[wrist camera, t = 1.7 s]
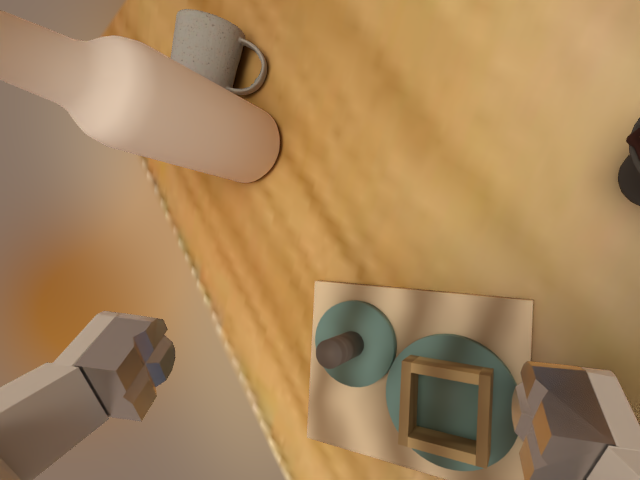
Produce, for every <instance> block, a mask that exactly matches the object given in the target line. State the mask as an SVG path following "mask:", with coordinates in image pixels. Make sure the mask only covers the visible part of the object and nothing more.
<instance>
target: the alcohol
mask: <svg viewBox="0 0 640 480" xmlns="http://www.w3.org/2000/svg"><path fill="white" fill-rule="evenodd" d="M0 80H2V81H4V82H6V83H9V84H11V85H14V86H16V87H19V88H21V89H24V90H26V91H28V92H31V93H33V94H36V95H38V96H41V97H43V98H45V99H48V100H50V101H53V102H55V103H58V104H59V105H60V106H62V107H63V108H64V109H66V110H67V111H68V112H69V114H70V115H71V117H72V118H73V120H74V121H75V123H76V124H77V125H78V126H79V127H80V128H81V129H82V131H83V132H84V133H85V134H86V135H88V136H90V137H91V138H93V139H95V140H97V141H98V142H100V143H102V144H104V145H105V146H108V147H111V148H114V149H118V150H122V151H126V152H130V153H133V154H137V155H140V156H144V157H148V158H151V159H155V160H159V161H163V162H166V163H170V164H174V165H177V166H181V167H185V168H188V169H192V170H196V171H200V172H203V173H207V174H211V175H214V176H218V177H222V178H225V179H229V180H233V181H237V182H240V183H249V182H253V181H256V180H258V179H259V178H261V177H262V176H264V175H265V174H266V173H267V172H268V171H269V170H270V169H271V168H272V166H273V165H274V163H275V161H276V159H277V157H278V153H279V149H280V136H279V131H278V127H277V125H276V123H275V121H274V119H273V118H272V117H271V115H270V114H268V113H267V112H266V111H264V110H262V109H261V108H259V107H257V106H255V105H253V104H252V103H250V102H248V101H246V100H244V99H243V98H241V97H239V96H237V95H235V94H234V93H232V92H230V91H228V90H226V89H225V88H223V87H221V86H219V85H217V84H216V83H214V82H212V81H210V80H209V79H207V78H205V77H203V76H201V75H200V74H198V73H196V72H194V71H192V70H191V69H189V68H187V67H185V66H183V65H182V64H180V63H178V62H176V61H174V60H173V59H171V58H169V57H167V56H165V55H164V54H162V53H160V52H158V51H156V50H155V49H153V48H151V47H149V46H148V45H146V44H144V43H142V42H139V41H136V40H133V39H129V38H125V37H121V36H106V37H101V38H97V39H94V40H90V41H81V40H75V39H72V38H70V37H67V36H65V35H62V34H60V33H57V32H55V31H52V30H50V29H47V28H44V27H42V26H40V25H37V24H35V23H32V22H30V21H27V20H24V19H22V18H20V17H17V16H15V15H12V14H9V13H7V12H5V11H2V10H0Z"/></svg>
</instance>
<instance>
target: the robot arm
mask: <svg viewBox="0 0 640 480" xmlns="http://www.w3.org/2000/svg"><path fill="white" fill-rule="evenodd" d="M166 331H167V327H166V324H165V322H164V320H163V319H158V318H152V317H145V316H138V315H131V314H124V313H116V312H108V311H103V312H101V313H99V314H97V315H96V316H95V317H94V318H93V319H92V320H91V321H90V323H89V324H88V325H87V326H86V327H85V328H84V329H83V330H82V332H80V334H79V335H78V336H77V337H76V338H75V339H74V340H73V341H72V343H71V344H70V345H69V346H68V347H67V348H66V349H65V350H64V351H63V353H62V354H61V355H60V356H59V357H58V358H57V359H56V360H55V361H54V362H53V363H45V364H43V365H42V366H40V367H38V368H36V369H34V370H32V371H30V372H28V373H26V374H25V375H23V376H21V377H19V378H17V379H15V380H13V381H11V382H9V383H8V384H6V385H4V386H2V387H0V480H33V479H34V478H35V477H37V476H38V475H39V474H40V473H42V472H43V471H44V470H46V469H47V468H48V467H49V466H51V465H52V464H53V463H54V462H56V461H57V460H58V459H59V458H61V457H62V456H63V455H64V454H66V453H67V452H68V451H69V450H71V449H72V448H73V447H74V446H76V445H77V444H78V443H79V442H81V441H82V440H83V439H84V438H86V437H87V436H88V435H89V434H91V433H92V432H93V431H95V430H96V429H97V428H98V427H100V426H101V425H102V424H103V423H105V422H106V421H107V420H108V419H109V418H108V417H113V418H120V419H127V420H135V421H142V420H143V418H144V417H145V415H146V413H147V412H148V410H149V408H150V407H151V405H152V403H153V402H154V400H155V398H156V396H157V395H156V387H157V386H158V385H160V384H161V383H163V382H164V381H166V380H167V378H168V376H169V374H170V373H171V371H172V368H173V365H174V361H175V348H174V345H173V342H172V341H171V340H169V339H168V338H167V337H166V336H165V335H164V334H165V333H166ZM520 373H521V377H522V381H523V382H522V383H520V384H518V385H517V386H515V389H514V393H513V396H512V408H511V410H512V421H513V426H514V431H515V433H516V434H517V435H518V436H519V437H520V439H521V440H522V441H523V444H522V447H521V449H520V452H519V456H520V461H521V465H522V470H523V475H524V480H640V425H639V423H638V421H637V419H636V417H635V414H634V412H633V410H632V408H631V406H630V404H629V402H628V400H627V398H626V396H625V394H624V392H623V390H622V387H621V385H620V383H619V381H618V379H617V377H616V375H615V374H614V373H613V372H612V371H611V370H602V369H594V368H585V367H579V366H570V365H561V364H551V363H542V362H532V361H527V362H525V363H524V364H523V367H522V370H521V372H520Z"/></svg>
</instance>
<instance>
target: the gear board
mask: <svg viewBox="0 0 640 480" xmlns="http://www.w3.org/2000/svg"><path fill="white" fill-rule="evenodd" d="M532 316H533V300H531V299H520V298H509V297H498V296H486V295H475V294H464V293H453V292H442V291H431V290H420V289H408V288H397V287H386V286H375V285H364V284H353V283H342V282H330V281H315V291H314V310H313V330H312V349H311V368H310V388H309V407H308V426H307V438H310V439H314V440H317V441H320V442H323V443H327V444H330V445H333V446H337V447H340V448H343V449H347V450H350V451H353V452H357V453H360V454H363V455H367V456H370V457H373V458H377V459H380V460H383V461H387V462H390V463H393V464H397V465H400V466H403V467H406V468H410V469H413V470H416V471H420V472H423V473H426V474H430V475H433V476H436V477H440V478H443V479H446V480H524V475H523V470H522V465H521V461H520V456H519V452H520V449H521V447H522V444H523V441H522V440H521V439H520V437H519V436H518V435H517V434H516V433H515V431H514V426H513V421H512V410H511V408H512V396H513V393H514V389H515V386H517V385H518V384H520V383H522V382H523V381H522V377H521V373H520V372H521V370H522V367H523V364H524V363H525V362H527V361H531V344H532Z"/></svg>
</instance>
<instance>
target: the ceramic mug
mask: <svg viewBox="0 0 640 480" xmlns="http://www.w3.org/2000/svg"><path fill="white" fill-rule="evenodd" d="M243 46H247V47H249V48H251V49H253V50H254V51H255V52H256V53H257V54H258V56H259V58H260V60H261V63H262V69H261V72H260V74H259V76H258V77H257V78H256V79H255V82H254V84H252V85H251V86H250V87H248V88H244V89H235V88H232V87H233V83H234V79H235V75H236V71H237V67H238V64H239V61H240V57H241V53H242V49H243ZM171 59H173V60H174V61H176V62H178V63H180V64H182V65H183V66H185V67H187V68H189V69H191V70H192V71H194V72H196V73H198V74H200V75H201V76H203V77H205V78H207V79H209V80H210V81H212V82H214V83H216V84H217V85H219V86H221V87H223V88H225V89H226V90H228V91H230V92H232V93H234V94H237V95H247V94H251V93H253V92H255V91H257V90H258V89H259V88H260V87H261V86H262V84H263V83H264V81H265V78H266V74H267V63H266V59H265V57H264V56H263V54H262V53H261V51H260V50H259V49H258V48H257V47H256V46H255V45H254V44H252V43H251V42H249V41H247V40H245V35H244V33H243V32H242V31H241V30H240V29H239V28H238V27H237V26H236V25H234V24H232V23H231V22H229V21H227V20H225V19H223V18H221V17H218V16H216V15H213V14H210V13H206V12H203V11H198V10H191V9H184V10H180V11H179V12H178V13H177V17H176V24H175V31H174V38H173V46H172V53H171Z"/></svg>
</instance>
